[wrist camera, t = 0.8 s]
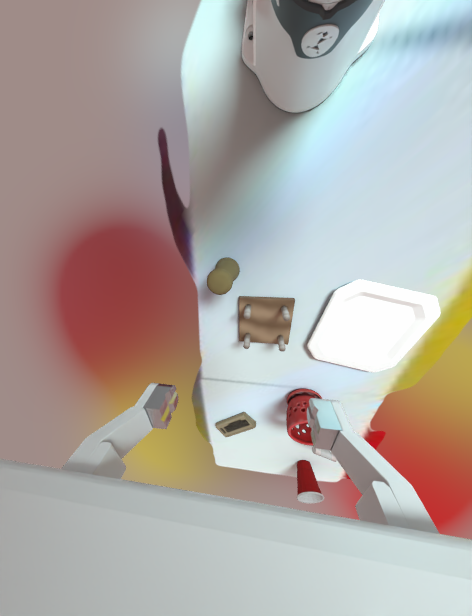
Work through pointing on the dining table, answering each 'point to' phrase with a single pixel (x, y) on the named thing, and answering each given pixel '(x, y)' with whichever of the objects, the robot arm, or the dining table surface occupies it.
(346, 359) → the plate
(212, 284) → the olive gourd
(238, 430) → the computer
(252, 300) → the standoff base
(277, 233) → the dining table surface
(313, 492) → the plastic cup
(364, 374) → the dining table surface
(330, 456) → the portable electronic device stand
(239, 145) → the dining table surface
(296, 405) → the plant pot
